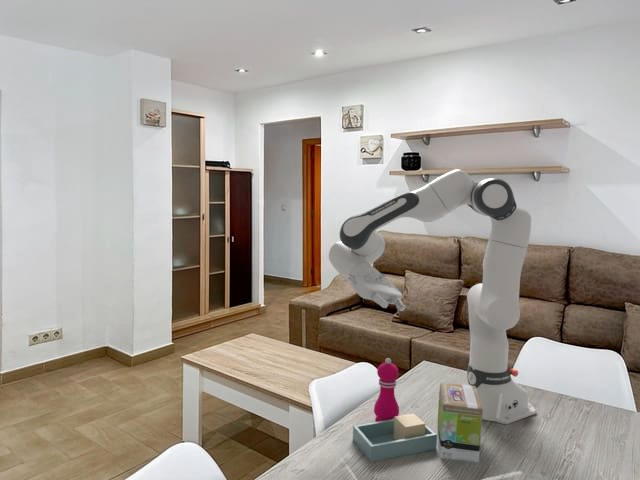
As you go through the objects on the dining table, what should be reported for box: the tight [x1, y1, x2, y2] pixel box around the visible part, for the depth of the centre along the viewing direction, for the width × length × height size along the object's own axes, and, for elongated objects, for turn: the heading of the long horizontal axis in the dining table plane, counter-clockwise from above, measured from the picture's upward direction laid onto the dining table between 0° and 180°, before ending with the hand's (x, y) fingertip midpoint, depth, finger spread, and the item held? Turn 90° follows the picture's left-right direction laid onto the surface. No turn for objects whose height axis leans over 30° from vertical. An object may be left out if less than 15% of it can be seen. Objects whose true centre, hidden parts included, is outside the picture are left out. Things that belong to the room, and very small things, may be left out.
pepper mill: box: [373, 357, 400, 422], centre depth 136 cm, size 7×7×20 cm
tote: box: [352, 419, 438, 463], centre depth 125 cm, size 19×11×4 cm, turn 110°
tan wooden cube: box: [393, 413, 426, 440], centre depth 127 cm, size 6×6×6 cm
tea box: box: [436, 382, 483, 463], centre depth 125 cm, size 15×10×15 cm, turn 168°
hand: (394, 307), depth 137 cm, fingers open, 8 cm apart
